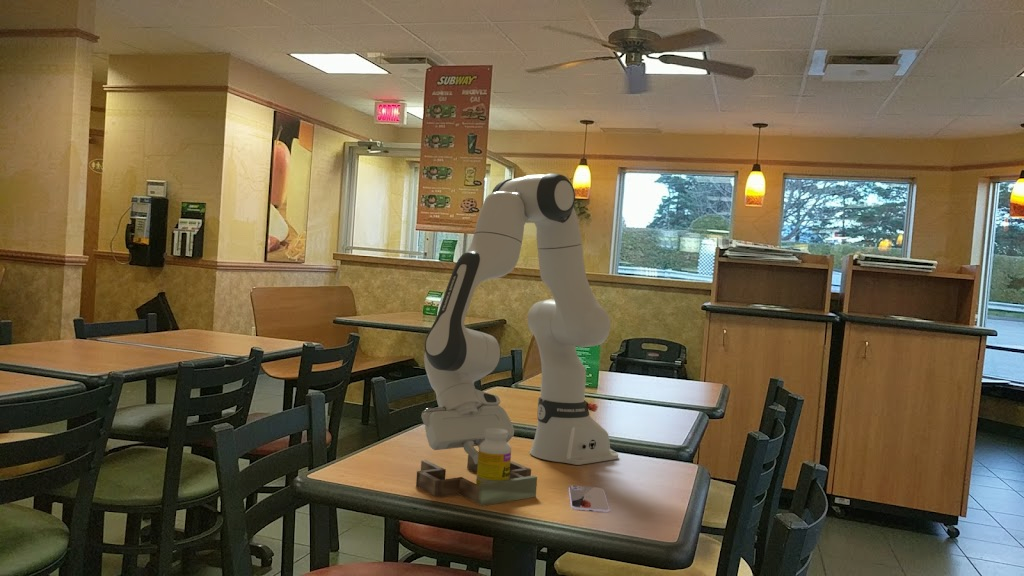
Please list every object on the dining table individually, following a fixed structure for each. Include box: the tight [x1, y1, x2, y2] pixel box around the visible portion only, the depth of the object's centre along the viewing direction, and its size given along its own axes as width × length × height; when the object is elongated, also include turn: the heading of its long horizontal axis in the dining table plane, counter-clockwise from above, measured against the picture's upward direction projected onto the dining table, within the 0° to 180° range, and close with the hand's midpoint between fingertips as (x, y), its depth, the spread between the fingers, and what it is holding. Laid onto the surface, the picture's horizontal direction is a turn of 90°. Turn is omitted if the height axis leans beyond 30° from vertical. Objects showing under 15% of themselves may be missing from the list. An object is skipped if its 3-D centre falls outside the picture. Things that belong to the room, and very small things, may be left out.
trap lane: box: [415, 454, 538, 507], centre depth 151 cm, size 23×23×4 cm
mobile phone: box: [568, 485, 610, 513], centre depth 147 cm, size 8×1×15 cm
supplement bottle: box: [475, 428, 512, 485], centre depth 146 cm, size 7×7×13 cm
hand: (482, 462), depth 150 cm, fingers closed, pressing on supplement bottle
